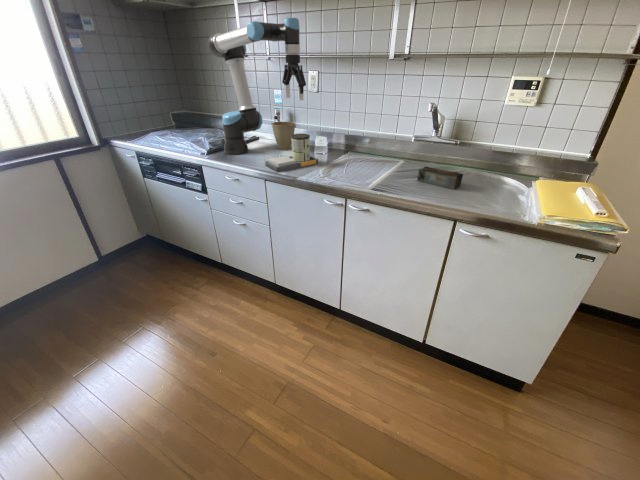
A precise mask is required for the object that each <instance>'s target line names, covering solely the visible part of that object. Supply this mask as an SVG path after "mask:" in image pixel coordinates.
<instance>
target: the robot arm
mask: <svg viewBox="0 0 640 480" xmlns="http://www.w3.org/2000/svg"><path fill="white" fill-rule="evenodd" d="M260 41H268V42H269V41H270V42H274V43H275V42H284V46H285V47H284V49H285V54H286V55H285V63H286V64H284V70H283V76H282V82H281V83H282V84H284V92H285V93H284V94H285V97H284V98H285V99H289V98H291V86H290V85H291V84H290V83H291V79H292V77H295V80H296V82H297V84H298V86H297V90H298V91H297V96H298V98H297V99H298V101H304V87H305V86H306V87H307V83H306V82H307V81H306V79H305V75H304V71H303V65H302V64H301V65H299V64H300V63H301V55H300V54H301V45H300V43H301V42H300V19H298V17H285V18H284V19H283V23H273V22H272V23H271V22H263V21H257V20H253V21H249V22H248V23H247V24H246V25H245V26H242V27H239V28H236V29H233V30H230V31H227V32H224V33H221V32H216V33H213V34H211V35H210V36H209V38H208V39H207V48H208V50H209V52H210V53H211V54H212V55H213V56H215V57H217V58H221V59H224V62H225V63H226V64H227V65H228V67H229V71H230V76H231V80H232V83H233V87H234V91H235V96H236V99H237V103H238V106H239V107H238V109H237V110H235V111H234V110H233V111H228V112H226V113H223V114H222V117H221V118H222V120H221V121H222V122H221V123H222V126H223V132H224V140H225V141H224V146H223V151H224V154H227V155H242V154H243V155H244V154H246V153H248V152H249V147H248V145H247V141H246V139H245V135H244V134H245V133H250V132H256V131H257V130H260V129H261V127H262V125H263V116H262V114H261V112H260V111H258V110H257V107H256V106H255V105H254V104H253V100H252V96H251V92H250V87H249V84H248V79H247V75H246V72H245V71H246V70H245V66H244V62H245V56H246V55H247V53H246V52H247V46H246V45H249V44H253V43H257V42H260Z"/></svg>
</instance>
